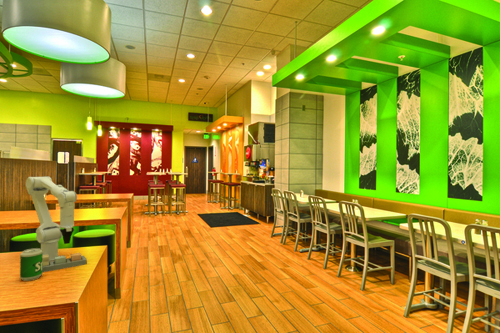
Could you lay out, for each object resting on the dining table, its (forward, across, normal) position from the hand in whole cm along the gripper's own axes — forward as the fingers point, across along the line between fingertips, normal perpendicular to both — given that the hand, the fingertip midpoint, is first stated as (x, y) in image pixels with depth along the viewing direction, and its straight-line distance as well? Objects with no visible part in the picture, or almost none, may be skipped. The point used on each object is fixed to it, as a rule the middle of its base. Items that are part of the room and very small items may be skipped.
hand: (66, 243), depth 137 cm
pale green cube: (+9, +3, -3) cm, 10 cm away
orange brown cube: (+9, +3, +4) cm, 10 cm away
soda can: (+10, +12, -14) cm, 21 cm away
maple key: (+8, +3, -10) cm, 13 cm away
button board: (+10, +3, -3) cm, 11 cm away
